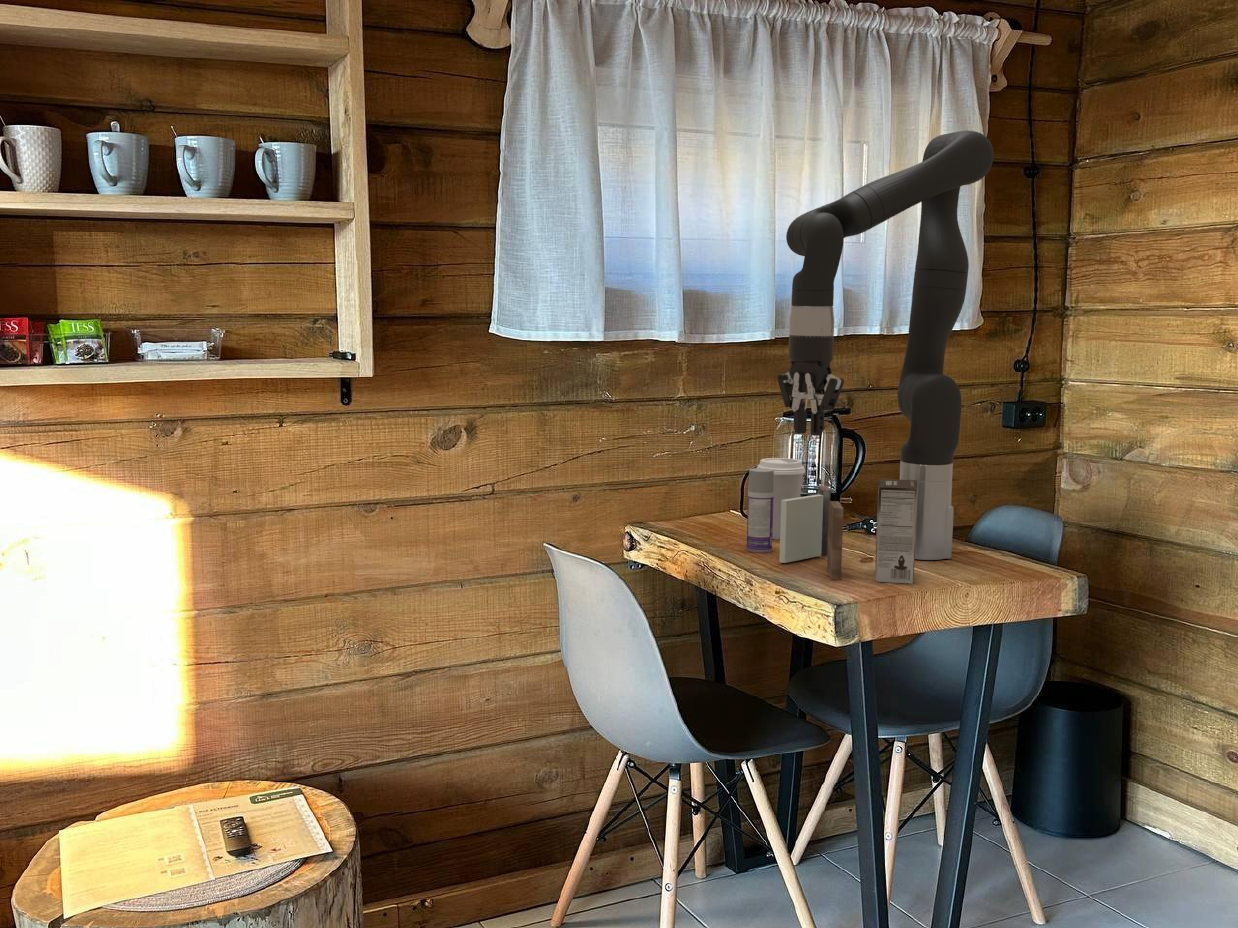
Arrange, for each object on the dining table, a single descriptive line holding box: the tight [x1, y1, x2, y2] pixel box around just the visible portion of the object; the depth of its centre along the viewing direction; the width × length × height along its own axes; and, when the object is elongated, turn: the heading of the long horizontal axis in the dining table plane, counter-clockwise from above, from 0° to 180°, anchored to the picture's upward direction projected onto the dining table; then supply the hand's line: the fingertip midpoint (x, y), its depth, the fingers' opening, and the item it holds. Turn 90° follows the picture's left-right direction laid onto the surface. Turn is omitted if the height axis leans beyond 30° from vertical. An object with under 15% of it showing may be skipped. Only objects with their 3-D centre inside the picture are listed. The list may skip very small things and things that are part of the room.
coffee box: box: [875, 478, 918, 585], centre depth 200 cm, size 9×6×16 cm
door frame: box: [818, 485, 844, 581], centre depth 209 cm, size 2×24×12 cm, turn 176°
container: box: [746, 467, 774, 554], centre depth 220 cm, size 5×5×15 cm
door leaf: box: [779, 494, 823, 564], centre depth 212 cm, size 10×1×11 cm, turn 131°
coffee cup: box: [756, 457, 806, 541], centre depth 233 cm, size 10×10×15 cm
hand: (808, 433), depth 205 cm, fingers open, 3 cm apart
